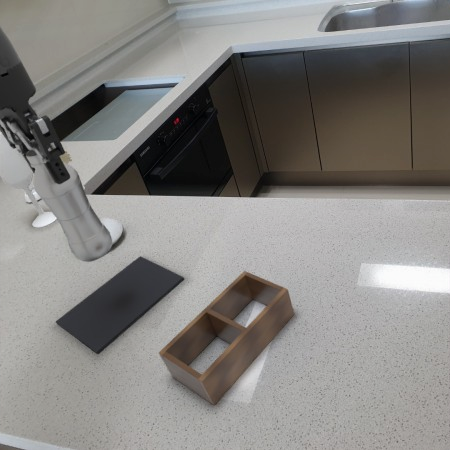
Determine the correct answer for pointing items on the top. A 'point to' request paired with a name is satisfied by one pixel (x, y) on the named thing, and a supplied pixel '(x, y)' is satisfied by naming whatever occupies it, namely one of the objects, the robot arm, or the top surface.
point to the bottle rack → (228, 335)
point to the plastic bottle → (72, 211)
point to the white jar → (33, 194)
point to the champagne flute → (20, 178)
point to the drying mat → (118, 303)
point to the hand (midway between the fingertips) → (52, 176)
